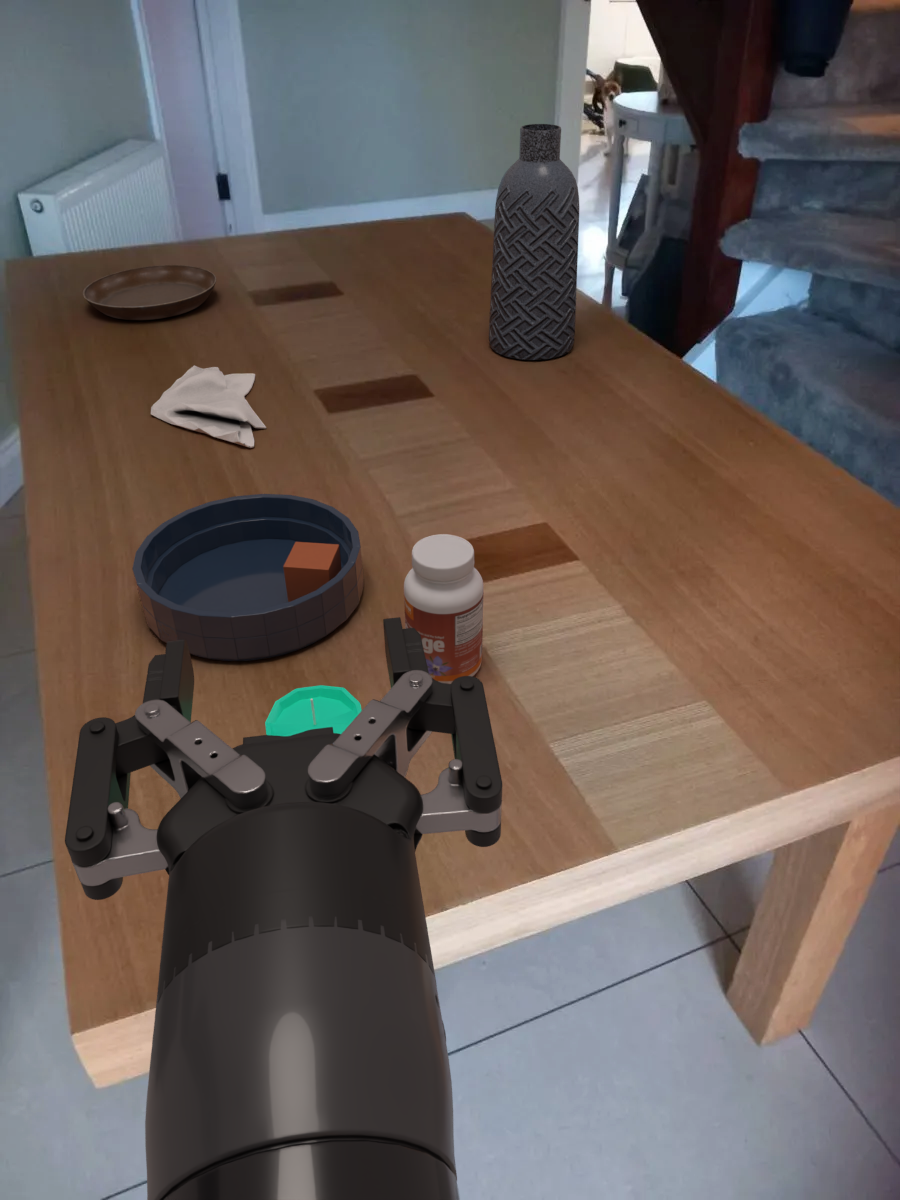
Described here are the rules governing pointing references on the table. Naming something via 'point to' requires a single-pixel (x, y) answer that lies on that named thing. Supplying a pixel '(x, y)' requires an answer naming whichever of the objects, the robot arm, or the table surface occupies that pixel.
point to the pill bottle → (446, 605)
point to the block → (310, 567)
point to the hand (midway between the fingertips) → (287, 645)
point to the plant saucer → (150, 291)
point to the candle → (312, 711)
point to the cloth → (211, 405)
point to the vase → (535, 251)
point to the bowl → (245, 576)
